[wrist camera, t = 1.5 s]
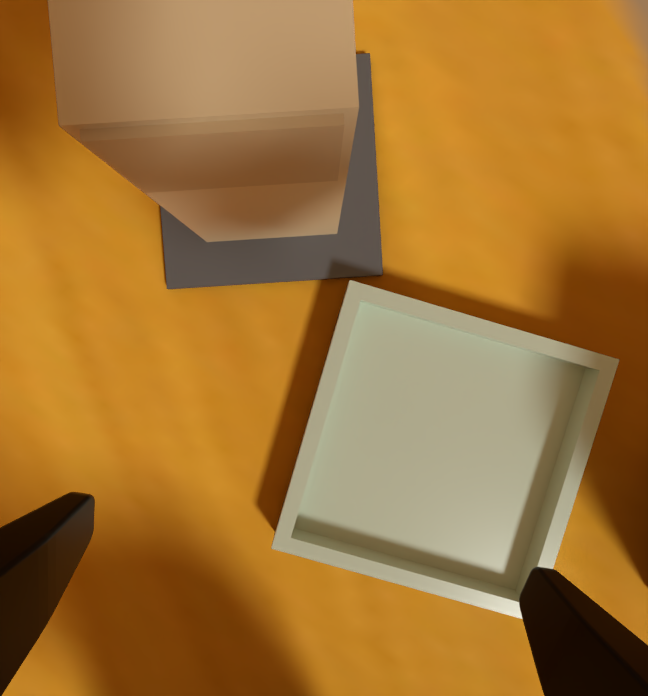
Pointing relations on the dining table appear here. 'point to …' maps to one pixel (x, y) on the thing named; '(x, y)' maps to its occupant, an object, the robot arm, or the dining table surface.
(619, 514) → the dining table surface
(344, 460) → the tray
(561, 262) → the dining table surface
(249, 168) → the carton
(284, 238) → the mat
